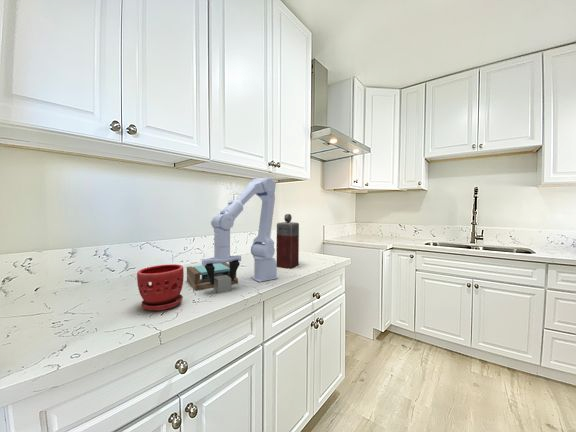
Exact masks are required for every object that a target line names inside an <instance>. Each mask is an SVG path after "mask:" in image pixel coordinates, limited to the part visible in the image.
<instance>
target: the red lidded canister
mask: <svg viewBox="0 0 576 432" xmlns="http://www.w3.org/2000/svg"><path fill="white" fill-rule="evenodd" d="M283 217H284V222H277V223H276V248H275V250H276V251H275V252H276V264H277V268H281V269H288V268H289V269H290V270H292V269H294V268H297V267H298V265H299V262H300V260H299V258H300V257H299V254H300V252H299V249H300V248H299V247H300V245H299V244H300V243H299V242H300V239H299V238H300V224H299V222H293V221H292V219H293V218H292V217H293V216H292V215H291V213H285V215H284V216H283ZM291 221H292V222H291ZM296 266H297V267H296ZM289 269H288V270H289Z"/></svg>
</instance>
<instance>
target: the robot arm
mask: <svg viewBox="0 0 576 432" xmlns="http://www.w3.org/2000/svg"><path fill="white" fill-rule="evenodd" d="M276 186H277V185H276V183H275V182H274V179H273V178H272V177H270V176H269V177H268V176H266V177H261V178H253V179H251V180H250V181H249V182H248V183H247V187H246V188H245V189H244V190H243V191H242V193H241V194H240V195H239V196H238V197H237V199H233V200H229V201H228V202H227V205H226V206H225V207H224V208H223V209H221V210H220V211H219V212H220V213H218V214H215V215H214V216H213V217H212V220H211V221H210V224H211V227H212V228H213V232H214V233H213V235H214V236H213V237H214V239H213V240H214V241H213V242H214V245H213V249H214V251H213V252H214V255H213V257H209V258H204V259H201V265H203V266H205V268H206V270H207V273H208V275H209V279H208V280H209V282H210V283H211V284H214V269H215V267H214V266H213V264H217V263H228V264H229V266H230V278H231V281H234V277H235V273H236V274H237V270H238V268H239V267H240V264H241V263H240V262H242V255H231V228H233V227H234V225H235V223H234V222H235V221H236V218H238V216H239V215H240V214H241V213H242V212H243V211H244V206H245V204H246V203H247V202H248V201H250V199H251V198H253V196H255V195H256V197H259V199H260V200H261V209H260V214H259V215H260V217H259V223H258V224H259V225H258V232H257V236H256V237H255V238H254V239H253V242H252V244H251V246H250V254H251V255H252V258H253V263H254V264H253V267H254V269H253V270H254V271H253V273H254V275H251V276H250V278H251V279H252V280H255V281H256V282H260V283H261V282H266V281H270V280H271V281H272V280H275V279H278V277H277V269H278V267H277V259H275V257H274V255H275V252H276V251H275V250H276V248H275V241H274V240H273V239H272V237H271V233H272V225H273V217H274V212H275V211H274V209H275V202H276V201H275V200H276V195H275V192H276Z"/></svg>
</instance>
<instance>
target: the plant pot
mask: <svg viewBox="0 0 576 432" xmlns="http://www.w3.org/2000/svg"><path fill="white" fill-rule="evenodd" d="M184 273H185V272H184V266H183V265H181V264H174V263H173V264H161V265H159V264H158V265H154V266H148V267H144V268H142V269H139V270H138V271H137V273H136V281H137V283H136V284H137V287H138V292H139V295H140V297H141V298H142V301H141V302H140V303H141V306H142V308H143V309H144V310H147V311H155V312H157V311H163V310H167V309H171V308H174V307H175V306H178V305H179V304H180V303H181V301H182V300H183V295H182V293H181V292H182V291H183V290H182V289H183V285H184V279H185V278H184V275H185V274H184ZM149 283H151V284H149Z"/></svg>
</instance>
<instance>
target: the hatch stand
mask: <svg viewBox="0 0 576 432" xmlns="http://www.w3.org/2000/svg"><path fill="white" fill-rule="evenodd" d="M221 264H223V265H225V266H227V267H229V268H230V266H229V262H226V263H221ZM227 272H228V276H229V277H230V271H227ZM186 282H187V283H188V284H189V285H190V286H191V287H192V288H193V289H194V291H201V290H207V289H214V284H211V283H210V281H207V282H201V275H200V273H199V272H198V271H197V270H196V269H194V268H193V266H191V265H190V266H186ZM238 283H239V278H238V277H237V272H236V273H235V277H234V281H231V285H235V284H238Z"/></svg>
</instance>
